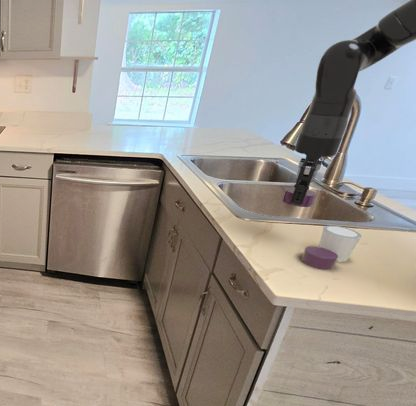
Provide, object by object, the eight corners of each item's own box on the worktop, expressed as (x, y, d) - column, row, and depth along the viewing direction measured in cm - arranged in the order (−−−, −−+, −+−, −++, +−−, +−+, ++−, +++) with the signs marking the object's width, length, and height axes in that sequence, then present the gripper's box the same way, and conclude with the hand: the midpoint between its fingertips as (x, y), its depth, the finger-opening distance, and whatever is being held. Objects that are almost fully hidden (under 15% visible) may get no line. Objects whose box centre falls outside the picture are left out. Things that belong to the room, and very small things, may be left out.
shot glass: (344, 266, 88) (356, 240, 85) (309, 254, 93) (318, 229, 90) (354, 257, 91) (365, 232, 88) (319, 246, 96) (329, 222, 93)
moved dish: (309, 200, 93) (313, 189, 92) (315, 208, 88) (319, 197, 87) (279, 196, 95) (283, 185, 94) (283, 204, 91) (287, 193, 90)
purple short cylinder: (330, 260, 90) (334, 249, 89) (336, 272, 85) (341, 261, 84) (299, 254, 93) (302, 244, 92) (303, 265, 88) (308, 255, 87)
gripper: (341, 141, 78) (314, 212, 84) (344, 130, 87) (320, 194, 94) (296, 136, 83) (274, 204, 89) (303, 126, 92) (283, 188, 99)
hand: (297, 199), depth 91 cm, fingers closed on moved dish, 6 cm apart
